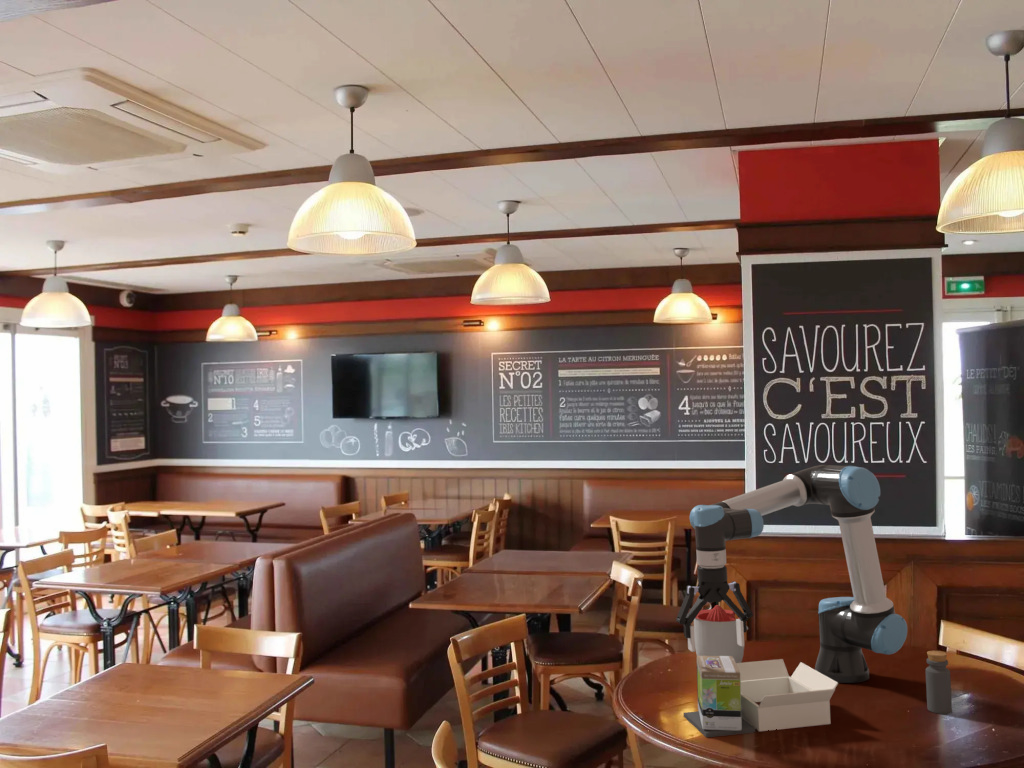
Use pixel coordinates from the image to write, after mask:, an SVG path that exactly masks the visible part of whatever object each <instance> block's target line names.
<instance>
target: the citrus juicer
mask: <svg viewBox="0 0 1024 768" xmlns="http://www.w3.org/2000/svg"><path fill="white" fill-rule="evenodd" d="M737 619H739V617H738V618H737ZM693 626H694V642H695V653H696V657H697V656H733V658H734V660H735V662H736V663H743V659H744V658H743V657H744V653H745V652H744V651H745V646H744V647H741V646H740V645H738V644H737V630H736V614H735V613H734V612H733V611H732V609H724V608H722V607H721V606H720V605H719V604H716V605H714V607H713V608H712V609H711V608H710V609H709V608H708V609H701V610H700V612H699V613H698V615H697V616H696V618H695V619H694V620H693ZM746 627H747V631H748V630H749V627H748V625H746Z"/></svg>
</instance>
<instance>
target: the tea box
mask: <svg viewBox="0 0 1024 768" xmlns="http://www.w3.org/2000/svg"><path fill="white" fill-rule="evenodd" d="M696 682H697V684H696V686H697V687H696V688H697V690H696V691H697V711H699V715H700V719H701V724H702V728H703V729H705V730H733V731H738V730H741V729H742V721H741V681H740V671H739V669H738V667H737V664H736V662H735V660H734V658H733V656H697V655H696Z"/></svg>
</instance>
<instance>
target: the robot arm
mask: <svg viewBox="0 0 1024 768" xmlns="http://www.w3.org/2000/svg"><path fill="white" fill-rule="evenodd" d="M880 497H881V486H880V483H879V480H878V479H877V477H876V475H875V474H874V473H873V472H872V471H870V470H869V469H868V468H865V467H861V466H860V467H859V466H855V465H835V464H834V465H833V464H832V465H830V464H819V465H814V466H811V467H808V468H805V469H802V470H799V471H797V472H796V471H795V472H794V473H791V474H787V475H786V476H785V477H784V478H783V479H782V480H780V481H778V482H774V483H772V484H768V485H765V486H762V487H760V488H757V489H754V490H751V491H749V492H745V493H743V494H739V495H736V496H734V497H731V498H728V499H725V500H722V501H719V502H716V503H712V504H708V505H707V504H698V505H695V506H694V507H693V508H692V509H691V511H690V513H689V522H690V523H689V524H690V525H691V527H692V528H693V529H694V533H695V548H696V549H695V551H696V564H697V565H698V566H697V567H696V569H697V570H696V571H697V585H696V586H691V585H689V584H688V585H687V586H686V589H685V591H686V592H685V596H684V599H683V600H682V604H681V606H680V609H679V610H678V613H677V616H676V619H675V621H676V623H678V624H680V625H683V635H684V638H686V639H687V648H688V650H689V651H690V652H692V653H696V649H695V640H694V624H693V623H694V619H695V618H696V616H697V615H698V613H699V612H700V610H703V608H704V606H705V605H706V604H707V603H709V604H710V603H711V604H713V603H715V602H716V603H721V602H722V601H723V602H724V603H725V605H727V606H728V607H729V609H730V610H732V611H733V612H734V613H735V616H737V617H738V618H739V619H738V618H735V620H736V630H737V644H738V645H740V646H741V647H744V648H745V635H744V634H745V633H747V631H748V630H747V627H748V626H747V621H749V618H753V617H754V613H753V611H752V610H751V608H750V606H749V604H748V603H747V600H746V598H745V597H744V595H743V593H742V591H741V586H740V583H739V582H736V581H731V582H730V583H728V568H727V566H726V564H727V550H726V549H727V548H726V542H728V541H734V540H735V541H736V540H742V539H743V540H745V539H751V538H755V537H759V536H760V535H761V534H762V533H763V531H764V527H765V526H764V519H763V516H765V515H768V514H771V513H773V512H776V511H780V510H782V509H784V508H789V507H791V506H795V507H802V506H805V505H809V504H810V505H812V504H815V505H825V506H829V508H830V514H831V517H832V518H834V519H836V520H837V521H838V525H839V530H840V535H841V540H842V544H843V550H844V555H845V561H846V566H847V571H848V575H849V581H850V586H851V590H852V595H853V596H838V597H827V598H823V599H821V600H820V601H819V603H818V612H817V614H818V629H819V631H818V632H819V647H820V648H819V650H818V651H819V652H818V655H817V658H816V661H815V666H814V670H816V671H818V672H820V673H821V674H823V675H825V676H827V677H829V678H831V679H832V680H834V681H836V682H838V683H845V684H856V683H862V682H866V681H868V680H869V679H870V669H869V667H868V664H867V662H866V658H865V655H864V652H863V650H862V649H865V650H868V651H872V652H873V653H876V654H882V655H893V654H895V653H897V652H898V651H899V650H901V649H902V647H903V645H904V644H905V642H906V639H907V637H908V624H907V621H906V620H905V618H904V617H902V615H901V614H897V613H896V611H895V606H894V602H893V601H892V600H891V599H890V598H888V597H887V595H886V590H885V583H884V580H883V575H882V570H881V564H880V559H879V553H878V549H877V544H876V539H875V534H874V530H873V528H874V527H873V524H872V519H871V517H872V515H873V514H874V513H875V512H876V511H875V508H876V505H877V504H878V503H879V501H880V499H879V498H880ZM729 590H730V591H732V593H733V595H734V597H735V599H736V600H737V602H738V604H739V606H740V607H741V609H740V608H739V607H738V606H737V605H736V604H735V603H734V601H732V599H731V598H730V597H729V596H728V593H729ZM697 593H698V594H699V595H698V597H697V598H696V601H695V603H694V604H693V606H692V603H693V601H694V597H695V596H696V594H697ZM746 626H747V627H746Z"/></svg>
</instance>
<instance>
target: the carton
mask: <svg viewBox="0 0 1024 768" xmlns="http://www.w3.org/2000/svg"><path fill="white" fill-rule="evenodd" d="M736 664H737V667H738V669H739V671H740V681H741V718H743V719H744V720H745V721H746V722H748V723H749V724H750V725H751V726H753V727H754V728H755V730H756V731H757V732H766V731H768V730H769V731H775V730H776V729H777V730H785V729H795V728H804V727H815V726H824V725H825V726H826V725H831V703H830V700H831V698H832V696H833V694H834V693H835V691H836V687H837V686H838V685H839V682H836V681H834V680H832V679H831V678H829V677H827V676H825V675H823V674H821V673H820V672H818V671H816V670H815V668H812V667H810V666H809V665H807V664H806V663H804V662H801V661H800V662H799V664H798V666H796V668H795V670H794V671H793V673H792V675H791V676H790V675H789V673H788V670H787V666H786V664H785V662H784V659H783V658H779V659H778V658H777V659H768V660H757V661H745V662H744V661H743V662H742V663H736ZM758 703H759V704H758Z"/></svg>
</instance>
